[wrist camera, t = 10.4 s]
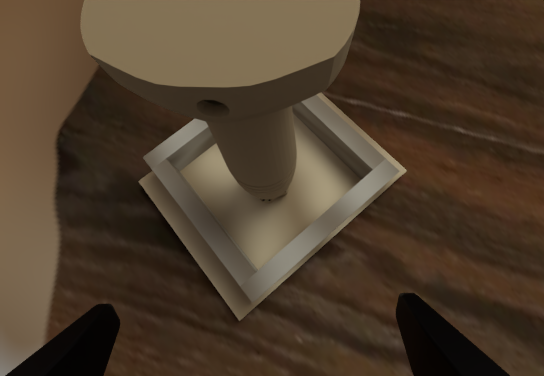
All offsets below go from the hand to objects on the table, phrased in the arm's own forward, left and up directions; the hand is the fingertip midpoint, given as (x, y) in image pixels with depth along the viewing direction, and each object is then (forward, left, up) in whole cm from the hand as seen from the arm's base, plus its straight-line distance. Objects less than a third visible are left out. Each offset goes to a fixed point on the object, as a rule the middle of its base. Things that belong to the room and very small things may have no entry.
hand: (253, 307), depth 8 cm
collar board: (+5, +6, -11) cm, 14 cm away
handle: (+5, +6, -11) cm, 13 cm away
